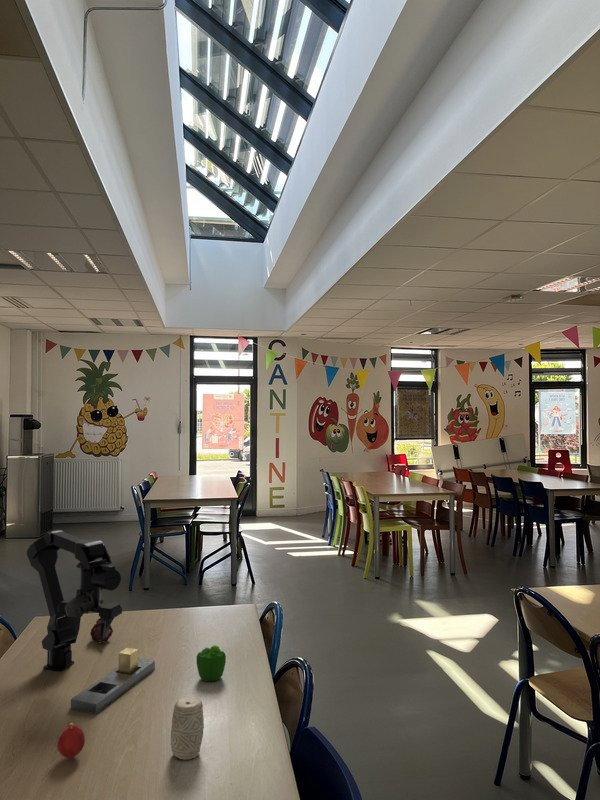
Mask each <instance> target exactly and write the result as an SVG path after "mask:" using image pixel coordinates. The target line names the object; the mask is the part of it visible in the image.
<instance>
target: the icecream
mask: <svg viewBox="0 0 600 800" xmlns="http://www.w3.org/2000/svg"><path fill="white" fill-rule="evenodd" d="M100 628H101V623H100V622H99V620H98V619H97V620H96V621H95V624H94V625H93V627H92V628H91V629H90V632H89V633H90V637H91V640H92V641H93V642H95V643H98V644H100V643H99V642H101V643H104V642H103V641H105V642H107V641H108V640H109V639H110V637H111V636H112V635H113V632H114V630H113V628H112V625H110V627H109V629H108V631H107V633H106V636H105V638H104V639H103V640H101V637H100Z"/></svg>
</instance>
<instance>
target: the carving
mask: <svg viewBox="0 0 600 800" xmlns="http://www.w3.org/2000/svg"><path fill="white" fill-rule="evenodd" d="M203 708H204V705H203V702H202V700H201V699H200V698H198V697H196V696H183V697H180V698H179V699H177V701H175V704H174V706H173V713H172V716H171V717H172V718H171V729H170V748H171V752H172V754H173V755H174V757H176V758H178V759H180V760H185V761H186V760H188V761H189V760H193V759H195V758H197V757H198V756H199V754H200V752H201V745H202V742H203V736H204V729H205V725H204V724H205V723H204V722H205V721H204V719H205V718H204V709H203ZM196 756H197V757H196ZM192 758H193V759H192Z"/></svg>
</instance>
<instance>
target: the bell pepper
mask: <svg viewBox="0 0 600 800" xmlns="http://www.w3.org/2000/svg"><path fill="white" fill-rule="evenodd" d="M226 659H227V656H226V653H225V651H221V649H220V646H218V645H213V646H210V648H209V647H205V648H203V649H202V651H200V652H198V653H197V655H196V667H197V671H198V676H199V678H200V679H201V680H202V682H210V681H211V682H212V681H213V682H217V681H219V680H220V679H221V678H222V677H223V674H224V671H225V666H226Z"/></svg>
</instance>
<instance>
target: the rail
mask: <svg viewBox="0 0 600 800" xmlns="http://www.w3.org/2000/svg"><path fill="white" fill-rule="evenodd" d="M155 664H156V661H155V660H153V659H146V658H141V657H138V670H137V671H136V672H135V673H133V674H132V675H127V674H121V673H118V666H117V667H115V668H114V669H113V670H111V671H110V672H109V673H107V674H106V675H104V676H103V677H100V679H98V680H97V681H95V682H94V683H92V684H91V685H90V686H88V687H87V688H85V689H83V690H82V691H81V692H79V693H78V694H77V695H75V696H73V697H72V698H70V710H76V711H79V712H80V711H81V712H86V713H90V714H96V715H97V714H98V713H99V712H100V711H102V710H103V709H104V708H106V707H107V706H109V705H110V704H111V703H113V701H115V700H116V699H117V698H119V697H120V696H121V695H123V694H124V693H126V692H127V691H128V690H129V689H131V687H134V686H135V685H136V684H137V683H139V682H140V681H141V680H142V679H144V678H145V677H146V676H147V675H149V674H150V673H152V672H153V671H154V670H155V669H156V665H155ZM101 692H105V693H101Z"/></svg>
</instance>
